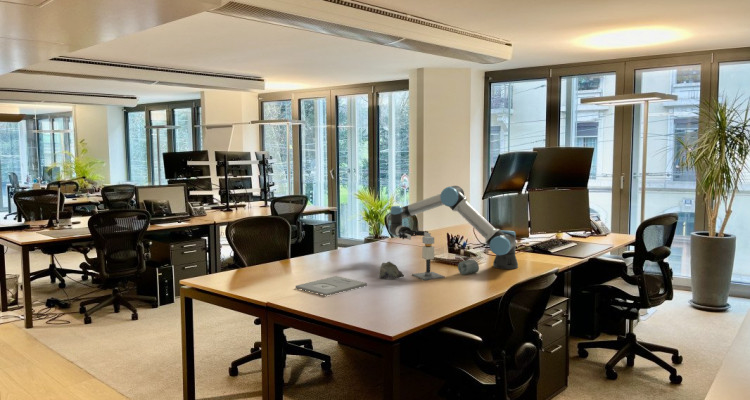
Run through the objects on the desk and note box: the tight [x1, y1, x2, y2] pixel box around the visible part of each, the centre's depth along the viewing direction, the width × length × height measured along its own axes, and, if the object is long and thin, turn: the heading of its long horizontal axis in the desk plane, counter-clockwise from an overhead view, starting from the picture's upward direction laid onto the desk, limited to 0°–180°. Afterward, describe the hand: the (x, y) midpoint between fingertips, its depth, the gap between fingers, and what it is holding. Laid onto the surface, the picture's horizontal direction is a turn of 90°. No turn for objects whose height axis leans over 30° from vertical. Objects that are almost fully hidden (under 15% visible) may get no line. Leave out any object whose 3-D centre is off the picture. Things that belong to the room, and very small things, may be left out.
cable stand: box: [411, 235, 446, 281], centre depth 330 cm, size 14×14×23 cm
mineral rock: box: [378, 261, 405, 280], centre depth 326 cm, size 13×11×10 cm
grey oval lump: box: [457, 259, 480, 276], centre depth 338 cm, size 14×10×10 cm
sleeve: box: [421, 245, 435, 261], centre depth 330 cm, size 5×5×7 cm
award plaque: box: [295, 275, 368, 296], centre depth 308 cm, size 25×30×2 cm
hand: (420, 236), depth 342 cm, fingers open, 13 cm apart
